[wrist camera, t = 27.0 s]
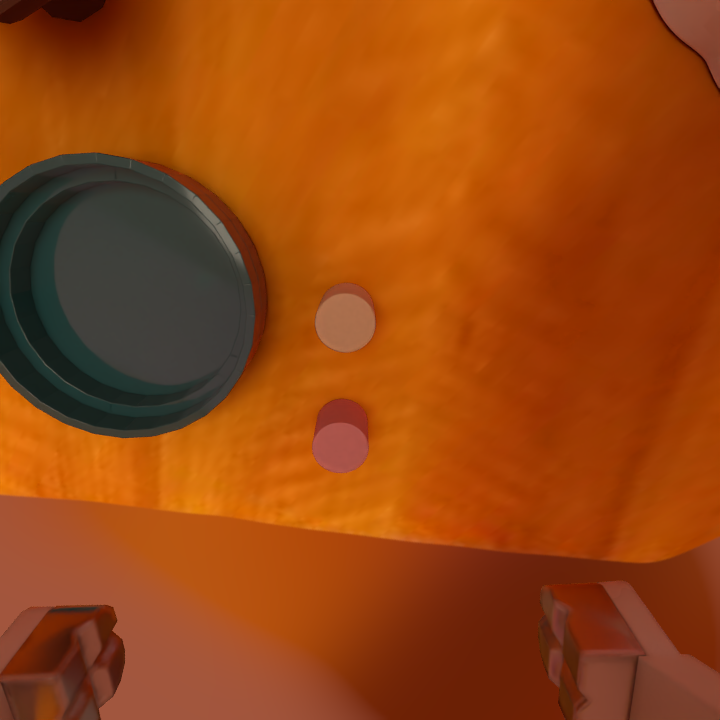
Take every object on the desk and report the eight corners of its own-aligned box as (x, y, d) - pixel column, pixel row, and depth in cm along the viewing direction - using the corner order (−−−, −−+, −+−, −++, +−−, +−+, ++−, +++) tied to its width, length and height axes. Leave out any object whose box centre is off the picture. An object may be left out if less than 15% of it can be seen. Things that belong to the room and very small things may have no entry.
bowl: (252, 152, 34) (234, 143, 29) (280, 402, 39) (269, 430, 34) (-16, 168, 34) (-77, 162, 29) (50, 415, 39) (7, 444, 34)
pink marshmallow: (366, 397, 39) (367, 420, 35) (368, 443, 40) (369, 471, 36) (315, 400, 39) (309, 424, 35) (319, 446, 40) (314, 474, 36)
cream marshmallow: (372, 281, 36) (374, 291, 32) (374, 334, 37) (377, 351, 33) (317, 284, 36) (312, 294, 32) (321, 337, 37) (317, 354, 33)
